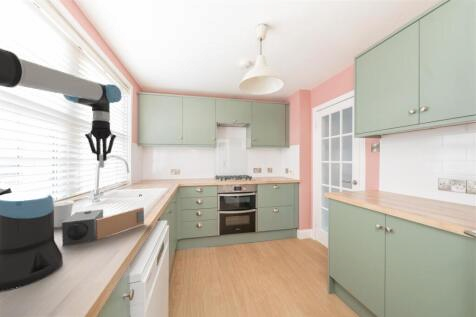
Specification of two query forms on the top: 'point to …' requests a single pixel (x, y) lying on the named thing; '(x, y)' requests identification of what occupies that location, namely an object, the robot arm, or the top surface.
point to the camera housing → (80, 227)
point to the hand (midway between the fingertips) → (102, 167)
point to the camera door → (119, 222)
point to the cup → (62, 212)
